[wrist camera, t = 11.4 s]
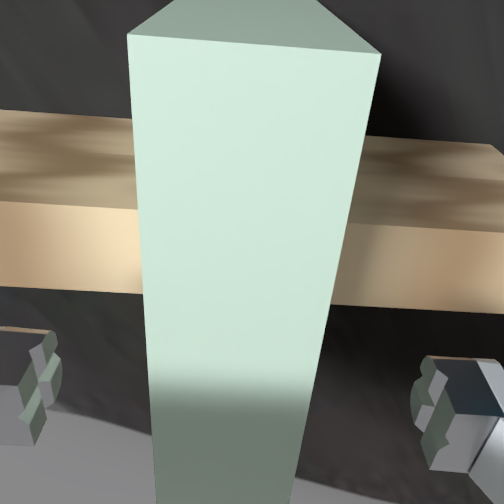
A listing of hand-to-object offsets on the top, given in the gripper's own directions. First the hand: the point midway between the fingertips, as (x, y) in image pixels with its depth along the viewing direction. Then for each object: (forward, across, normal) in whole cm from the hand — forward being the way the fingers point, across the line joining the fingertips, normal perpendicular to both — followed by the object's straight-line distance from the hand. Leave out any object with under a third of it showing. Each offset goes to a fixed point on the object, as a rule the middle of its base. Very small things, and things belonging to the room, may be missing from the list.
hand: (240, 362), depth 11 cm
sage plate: (+12, 0, 0) cm, 12 cm away
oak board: (+12, +1, 0) cm, 12 cm away
